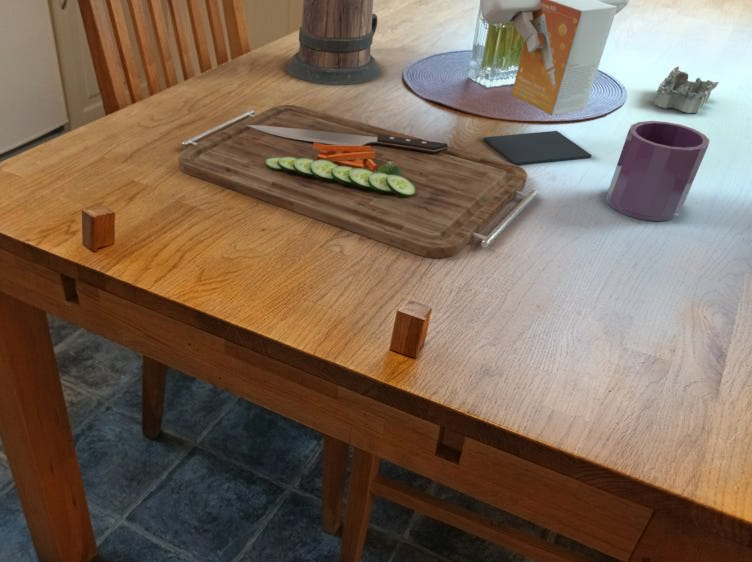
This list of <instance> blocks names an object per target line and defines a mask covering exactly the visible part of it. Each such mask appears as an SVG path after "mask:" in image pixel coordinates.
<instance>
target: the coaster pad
mask: <svg viewBox="0 0 752 562" xmlns="http://www.w3.org/2000/svg"><path fill="white" fill-rule="evenodd" d="M483 141H484V142H485V143H486V144H488V145H489V146H490V147H491V148H492V149H494V150H495V151H496V152H498V154H500V155H501V156H502V157H504V159H506V160H507V161H509V163H511V164H514V165H517V166H521V165H522V166H523V165H531V164H541V163H551V162H561V161H572V160H583V159H591V158H592V156H593V155H592V154H591V153H589V152H588V151H586V149H585V148H582V147H581V146H579V145H578V144H576V142H574V141H572V140H571V139H569V138H568V137H566V136H565V135H563V133H561V132H559V131H558V130H551V131H549V130H548V131H541V132H540V131H539V132H527V133H517V134H505V135H496V136H495V135H494V136H484V137H483Z"/></svg>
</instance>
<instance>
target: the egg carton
mask: <svg viewBox="0 0 752 562" xmlns="http://www.w3.org/2000/svg"><path fill="white" fill-rule="evenodd" d="M679 69H680V66H676V67H674V68H673V69H672V70H671V71H670V72H669V74H668V76H667V77H665V78H664V80H663V81H662V82H661V83H660V84H659V86H658V88H657V90H656V93H657V96H656V99H655V101H654V103H653V104H654V105H655V106H657V107H659V108H663V109H675V110H677V111H681V112H684V113H687V114H699V112H700V110H701V108H703V107H704V105H705V103H707V102H708V101H709V99H710V96H711V95H712V91H713V90H714V89H716V88H717V86H718V85H719V81H712V80H709V79H707V80H706V81H704V80H702V79H701V77H696V78H695V81H691V80H689V73H688V72H685V71H681V70H679Z"/></svg>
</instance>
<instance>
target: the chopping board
mask: <svg viewBox="0 0 752 562" xmlns="http://www.w3.org/2000/svg"><path fill="white" fill-rule="evenodd" d="M181 147H182V148H183V149H184V150H182V151H181V152H180V153H179V155H178V167H179V169H180V171H181V172H183V173H185V174H187V175H190V176H192V177H194V178H198V179H201V180H204V181H207V182H210V183H211V184H212V183H213V184H215V185H218V186H220V187H224V188H226V189H230V190H232V191H235V192H237V193H240V194H243V195H247V196H249V197H252V198H255V199H258V200H260V201H264V202H266V203H269V204H272V205H274V206H278V207H281V208H284V209H287V210H289V211H291V212H295V213H298V214H300V215H304V216H306V217H308V218H312V219H315V220H318V221H320V222H323V223H326V224H330V225H332V226H335V227H338V228H341V229H344V230H347V231H349V232H352V233H355V234H358V235H361V236H364V237H366V238H369V239H372V240H375V241H378V242H380V243H383V244H386V245H389V246H392V247H394V248H397V249H400V250H403V251H406V252H409V253H412V254H414V255H417V256H420V257H426V258H430V259H444V258H449V257H453V256H455V255H456V254H457V255H458V254H459V253H460V252H461V251H462V250H463V249H464V248H465V247H466V246H467V245H468V244H469V243H470V242H471V241H472V240H473V239H474V238H475V239H478V240H481V242H480V246H481V247H482V248H488V246H489V245H490V244H491V243H492V242H493V241H494V240H495V239H496V237H498V236H499V235H500V234H501V233H502V231H504V229H505V228H506V227H507V226H509V224H510V223H511V222H512V221H513V220H514V219H515V218H517V216H518V215H519V214H520V213H521V212H522V211H523V210H524V209H525V208H526V206H527V205H529V204H530V202H531V201H533V199H534V198H535V197H537V196H538V191H537V190H535V189H532V190H531V191H529V193H527V192H524V191H523V190H524V189H525V186H526V183H527V181H528V180H527V179H528V176H529V174H528V172H527V171H526V169H524V168H523V167H521V166H520V165H514V164H512V163H511V162H508V161H504V160H500V159H498V158H493V157H490V156H486V155H482V154H478V153H474V152H472V151H471V152H470V151H466V150H464V149H459V148H456V147H452V146H449V144H448V143H447V142H439V141H430V140H427V139H422V138H420V137H415V136H412V135H409V134H405V133H401V132H398V131H393V130H389V129H386V128H382V127H378V126H375V125H371V124H368V123H364V122H361V121H357V120H354V119H353V120H352V119H349V118H346V117H342V116H338V115H334V114H331V113H327V112H323V111H319V110H316V109H313V108H309V107H305V106H301V105H295V104H281V105H276V106H273V107H270V108H268V109H266V110H264V111H262V112H260V113H258V114H255V110H253V109H250V110H248V111H245V112H244V113H242V114H240V115H237V116H236V117H233V118H231V119H229V120H227V121H225V122H223V123H221V124H219V125H217V126H214V127H212V128H210V129H208V130H206V131H204V132H202V133H199V134H198V135H195V136H194V137H193V136H192V137H191V138H189V139H187V140H184V141H183V142H181ZM517 196H519V197H521V198H522V199H521V201H520V202H519V203H518V204H517V205H516V206H514V208H513V209H512V210H511V211H510V212H509V213H508V214H507V215H506V216H505V217H504V218H503V219H502V220H501V221H500V222H499V223H498V224H497V225H496V226H495V227H494V228H493V229H492V230H491V231H490V232H489V233H488V234H487V235H483V234H481V233H480V232H481V231H483V229H484V228H486V226H487V225H488V224H489V223H490V222H491V221H492V220H493V219H494V218H495V217H496V216H498V214H500V212H502V210H503V209H504V208H506V206H507V205H508V204H510V202H512V200H513V199H514V198H516V197H517Z"/></svg>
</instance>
